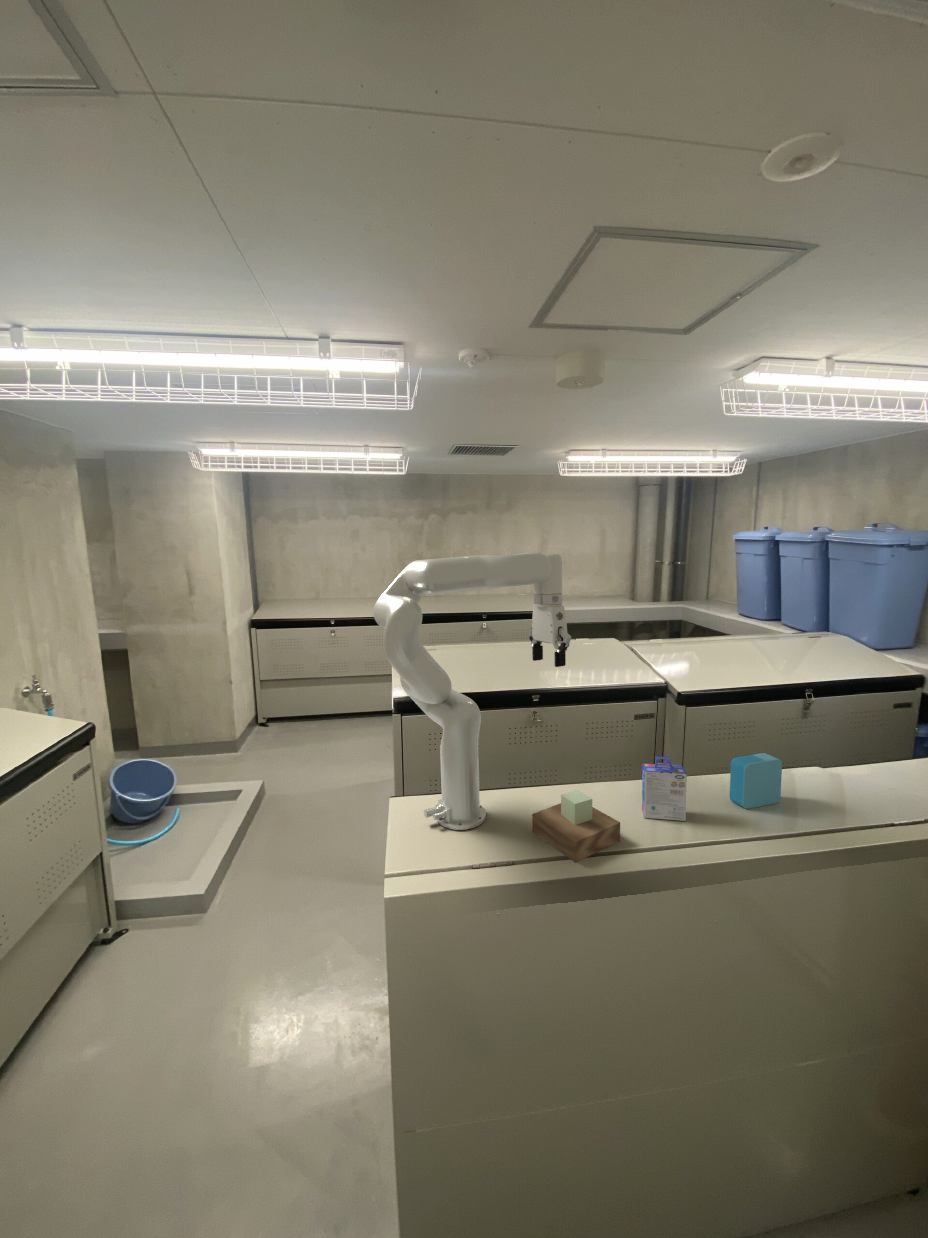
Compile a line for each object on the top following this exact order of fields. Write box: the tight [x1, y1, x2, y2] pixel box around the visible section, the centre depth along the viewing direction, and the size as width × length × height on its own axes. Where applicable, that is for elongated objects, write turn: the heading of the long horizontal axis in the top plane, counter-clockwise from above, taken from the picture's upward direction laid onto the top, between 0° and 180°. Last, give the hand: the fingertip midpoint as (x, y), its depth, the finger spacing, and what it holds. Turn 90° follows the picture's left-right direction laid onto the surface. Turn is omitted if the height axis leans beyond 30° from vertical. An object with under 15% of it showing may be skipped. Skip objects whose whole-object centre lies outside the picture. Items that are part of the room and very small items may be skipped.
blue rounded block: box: [729, 752, 783, 810], centre depth 122 cm, size 12×4×12 cm, turn 105°
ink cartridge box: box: [641, 755, 688, 822], centre depth 118 cm, size 10×6×14 cm, turn 78°
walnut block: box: [531, 802, 621, 863], centre depth 110 cm, size 14×14×5 cm
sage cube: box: [560, 789, 593, 825], centre depth 110 cm, size 5×5×5 cm
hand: (548, 663), depth 129 cm, fingers open, 9 cm apart
